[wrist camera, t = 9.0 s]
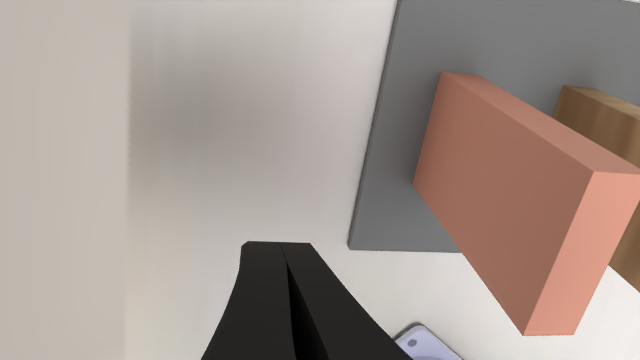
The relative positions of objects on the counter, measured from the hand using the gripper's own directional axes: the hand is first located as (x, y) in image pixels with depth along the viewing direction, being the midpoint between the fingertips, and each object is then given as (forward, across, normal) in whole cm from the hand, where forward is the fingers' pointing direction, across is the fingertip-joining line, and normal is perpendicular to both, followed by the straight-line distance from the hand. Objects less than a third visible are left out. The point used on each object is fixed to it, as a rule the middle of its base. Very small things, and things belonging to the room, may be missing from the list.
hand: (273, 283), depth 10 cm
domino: (+10, -8, 0) cm, 13 cm away
